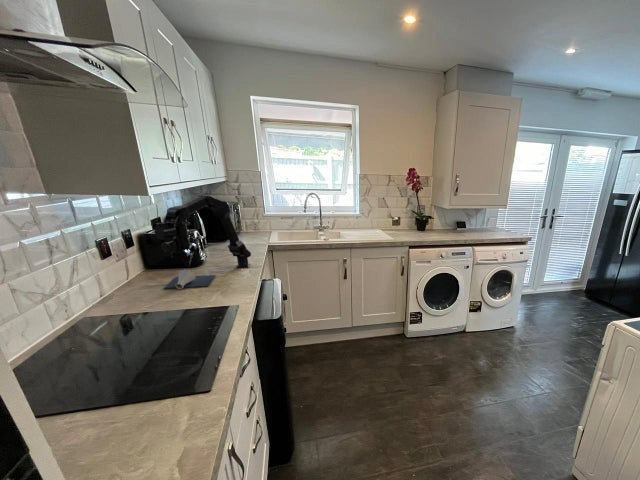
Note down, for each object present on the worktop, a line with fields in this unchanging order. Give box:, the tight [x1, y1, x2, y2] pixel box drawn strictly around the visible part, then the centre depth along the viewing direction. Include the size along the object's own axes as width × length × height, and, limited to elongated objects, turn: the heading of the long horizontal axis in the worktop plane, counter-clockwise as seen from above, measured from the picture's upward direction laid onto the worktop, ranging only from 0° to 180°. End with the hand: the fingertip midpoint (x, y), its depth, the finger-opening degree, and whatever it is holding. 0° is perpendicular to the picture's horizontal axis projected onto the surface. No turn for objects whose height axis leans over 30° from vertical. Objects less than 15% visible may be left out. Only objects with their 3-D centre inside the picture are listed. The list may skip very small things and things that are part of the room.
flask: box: [175, 269, 196, 290], centre depth 156 cm, size 7×7×10 cm
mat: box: [164, 274, 216, 290], centre depth 163 cm, size 18×18×1 cm
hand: (187, 267), depth 158 cm, fingers closed
